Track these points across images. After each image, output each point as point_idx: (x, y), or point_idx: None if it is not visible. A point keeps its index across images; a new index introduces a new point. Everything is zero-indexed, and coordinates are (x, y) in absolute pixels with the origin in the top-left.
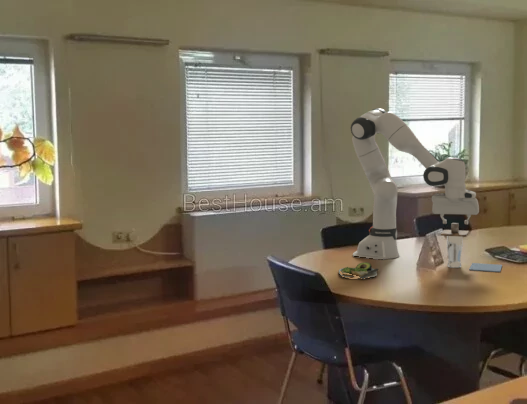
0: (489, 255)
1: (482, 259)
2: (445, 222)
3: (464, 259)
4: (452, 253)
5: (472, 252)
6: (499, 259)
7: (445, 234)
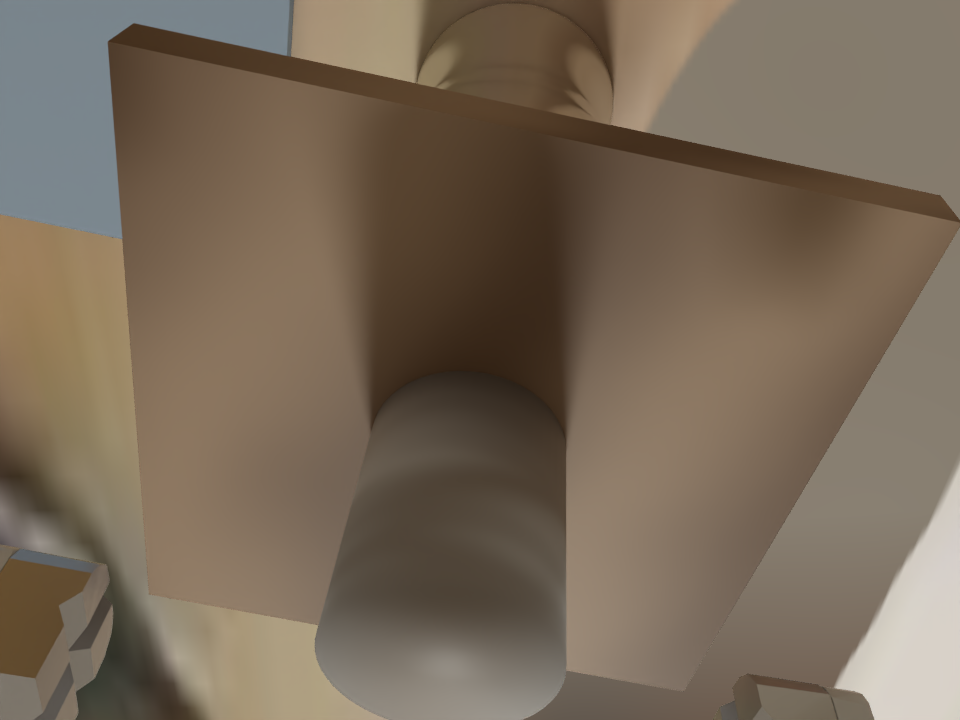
0: (145, 598)
1: None
2: (783, 713)
3: None
4: (550, 86)
5: (303, 681)
6: (23, 471)
7: (798, 185)
